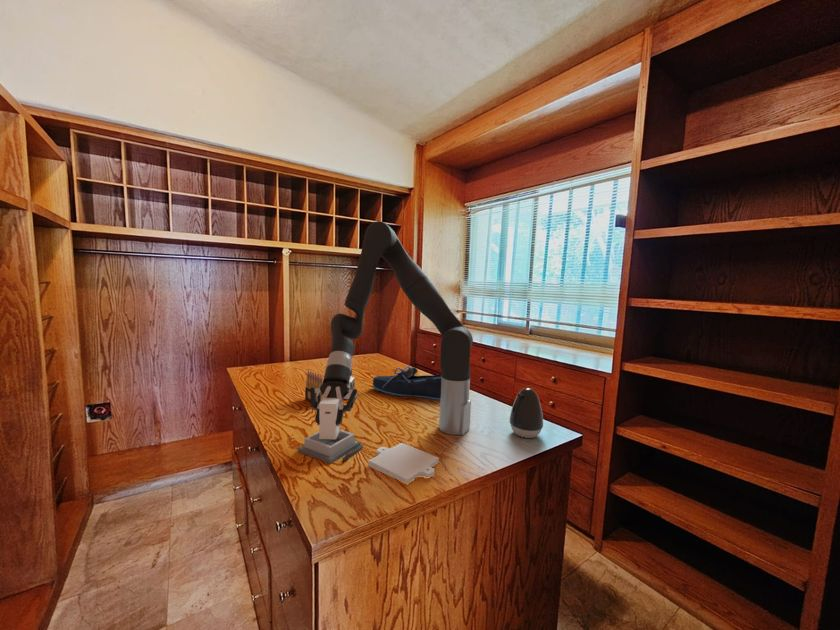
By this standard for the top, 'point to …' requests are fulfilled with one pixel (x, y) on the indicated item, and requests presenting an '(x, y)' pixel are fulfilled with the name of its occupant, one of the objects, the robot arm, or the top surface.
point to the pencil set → (313, 385)
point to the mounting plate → (404, 462)
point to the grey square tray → (329, 446)
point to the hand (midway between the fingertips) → (328, 424)
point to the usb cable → (352, 452)
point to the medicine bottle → (350, 385)
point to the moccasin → (409, 384)
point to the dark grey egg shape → (526, 414)
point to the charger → (328, 418)
